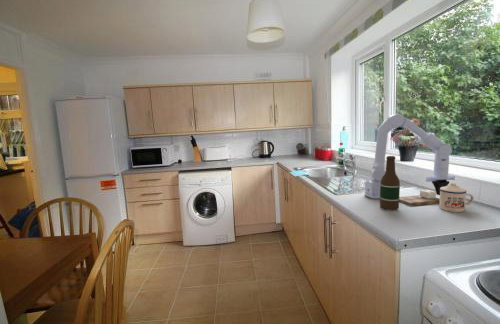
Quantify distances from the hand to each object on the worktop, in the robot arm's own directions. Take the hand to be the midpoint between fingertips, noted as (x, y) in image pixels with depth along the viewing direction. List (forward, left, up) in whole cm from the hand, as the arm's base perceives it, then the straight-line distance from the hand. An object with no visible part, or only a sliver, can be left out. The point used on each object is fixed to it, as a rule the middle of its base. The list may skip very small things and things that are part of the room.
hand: (439, 194), depth 123 cm
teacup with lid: (-7, -14, -3) cm, 16 cm away
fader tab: (-7, 0, 0) cm, 7 cm away
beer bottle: (-32, -5, -3) cm, 32 cm away
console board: (-12, 0, -2) cm, 12 cm away
